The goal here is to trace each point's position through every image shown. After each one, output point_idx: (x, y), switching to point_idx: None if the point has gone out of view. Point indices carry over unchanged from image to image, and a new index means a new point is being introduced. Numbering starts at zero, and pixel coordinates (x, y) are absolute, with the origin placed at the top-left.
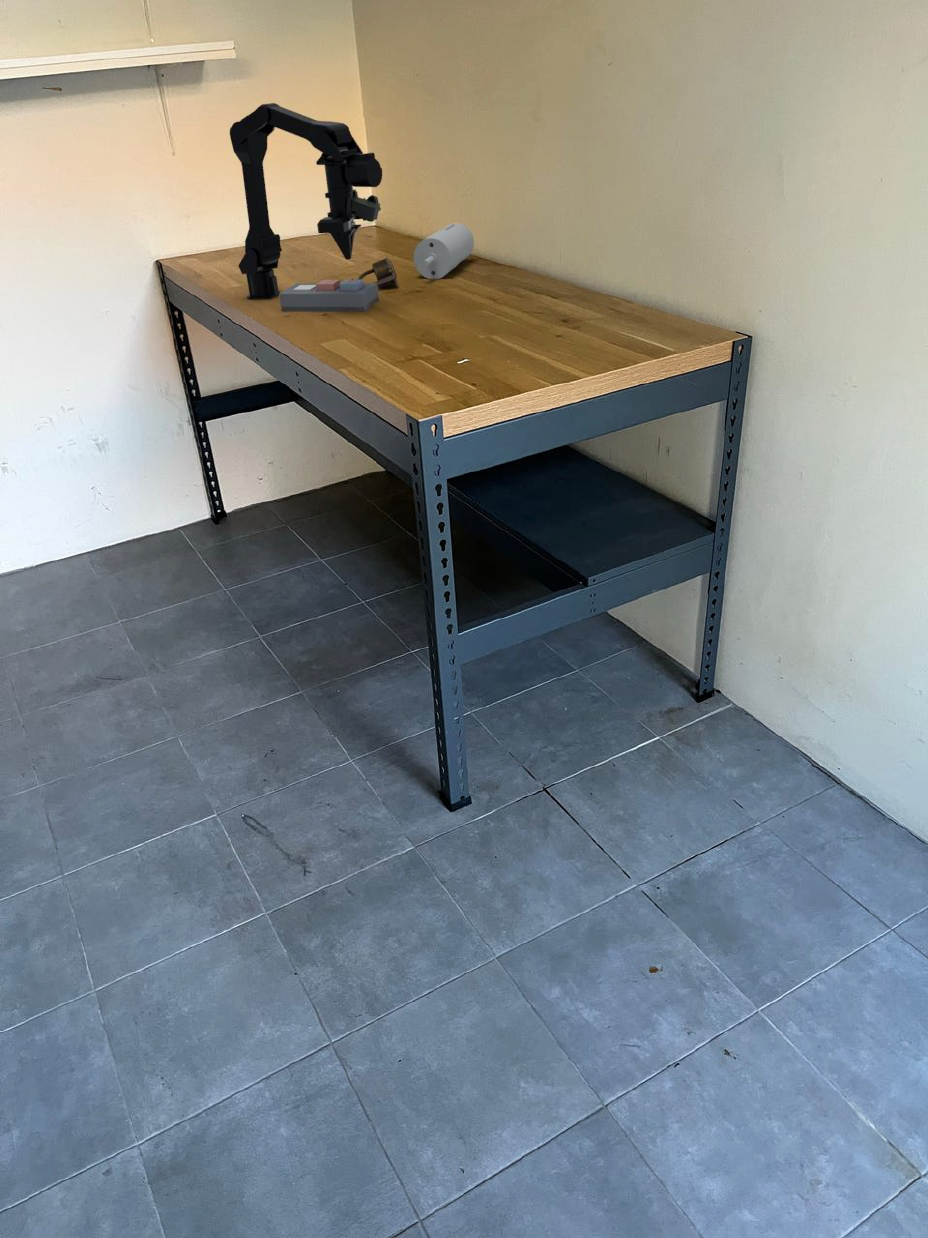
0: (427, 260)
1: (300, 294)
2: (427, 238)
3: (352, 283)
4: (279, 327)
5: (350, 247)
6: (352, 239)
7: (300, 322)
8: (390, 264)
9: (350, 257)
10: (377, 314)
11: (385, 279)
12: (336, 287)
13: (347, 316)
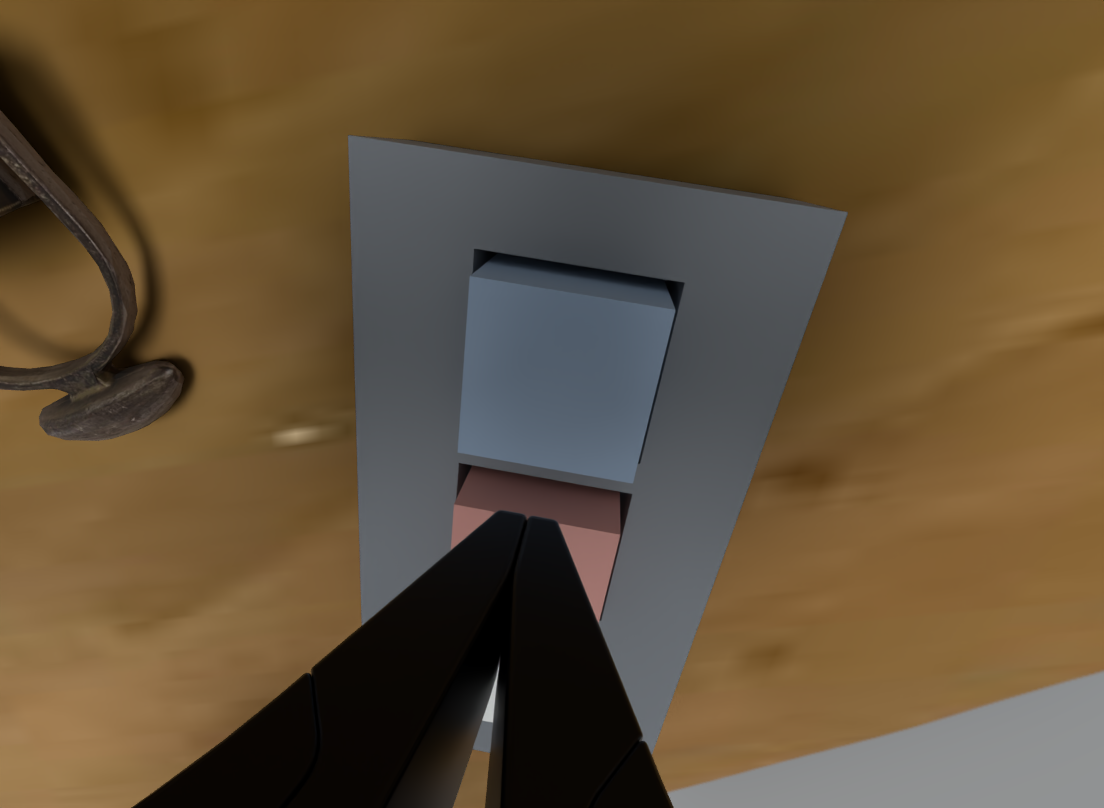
0: None
1: (675, 686)
2: None
3: (635, 366)
4: (1023, 667)
5: (548, 653)
6: (334, 799)
7: (951, 584)
8: None
9: (536, 522)
10: (949, 44)
11: (2, 131)
12: (559, 495)
13: (911, 317)
